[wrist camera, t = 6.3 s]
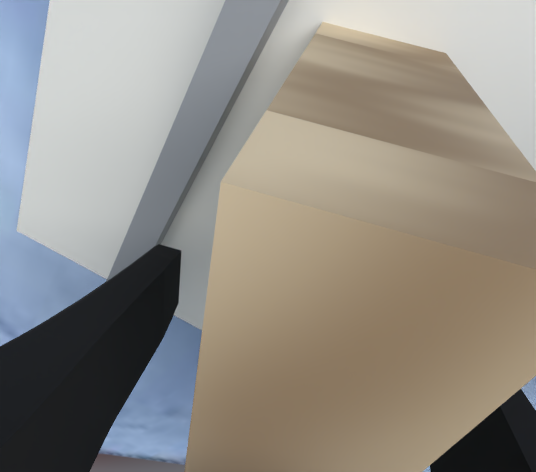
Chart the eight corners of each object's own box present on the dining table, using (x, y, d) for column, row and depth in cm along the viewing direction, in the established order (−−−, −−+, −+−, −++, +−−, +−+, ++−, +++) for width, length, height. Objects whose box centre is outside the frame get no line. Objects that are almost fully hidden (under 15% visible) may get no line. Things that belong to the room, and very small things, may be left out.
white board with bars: (793, 209, 10) (901, 275, 8) (391, 410, 20) (394, 464, 18) (139, -342, 7) (43, -464, 5) (36, 215, 17) (-12, 253, 15)
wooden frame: (446, 53, 9) (629, 296, 3) (319, 333, 16) (287, 585, 9) (322, 21, 9) (220, 181, 3) (250, 313, 16) (175, 547, 10)
